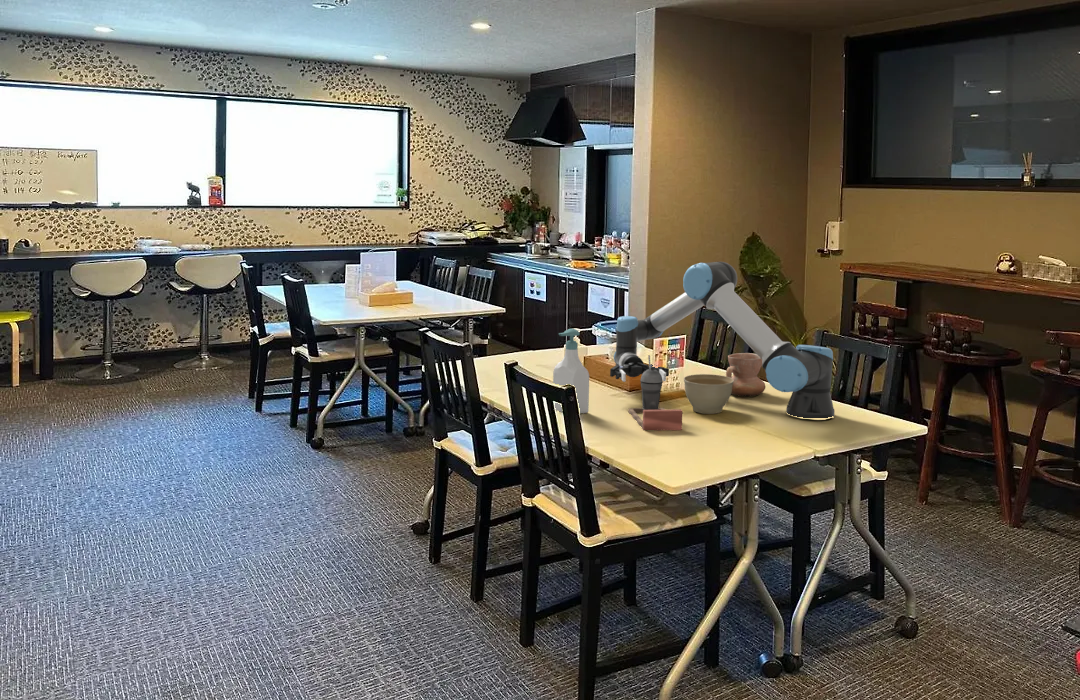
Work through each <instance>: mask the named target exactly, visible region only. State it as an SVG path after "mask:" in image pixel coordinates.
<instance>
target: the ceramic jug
mask: <svg viewBox="0 0 1080 700" xmlns="http://www.w3.org/2000/svg"><path fill="white" fill-rule="evenodd" d="M727 360H728V364H729V366H728V367H727V369H726V370H725V371H726V372H725V376H726V377H729V378H732V379H733V380H734V382H733V385H732V392H731V395H734V396H738V395H739V397H755V395H756V396H759V395H761V394H763V393H764V392H765V390H766V386H767V385H766V383H765V382H764V380H762V379H760V378H759V377H758V374H759V372H760V370H761V368H762V359H761V358H760V357H759V356H758V355H757V354H756V353H752V352H751V353H750V352H741V353H740V352H739V353H732V354H729V355H727Z"/></svg>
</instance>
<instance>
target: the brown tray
mask: <svg viewBox="0 0 1080 700" xmlns="http://www.w3.org/2000/svg"><path fill="white" fill-rule="evenodd" d="M627 410H628V413H629V415H630V414H631V415H632V416H631V415H630V416H631V417H632V418H633V420H634V421H635V420H636V421H637V422H636V421H635V422H636V423H637V425H638V426H639V427H640V426H641V427H642V428H641V427H640V428H641V429H642V431H644V430H654V431H682V430H683V414H684V413H683V410H682V409H675V408H674V409H665V408H664V407H659V409H658V410H643V407H638V408H637V407H635V408H632V407H631V408H628V409H627ZM641 413H642V418H641V417H640V416H639V414H641Z"/></svg>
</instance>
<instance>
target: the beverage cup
mask: <svg viewBox="0 0 1080 700" xmlns="http://www.w3.org/2000/svg"><path fill="white" fill-rule="evenodd" d="M647 357H648V358H647V359H648V365H649V369H648V370H646V371H645V372H644V373H643V374H641V377H640V380H639V382H640V387H641V398H642V399H641V401H642V402H641V403H642V404H641V405H642V408H643V410H658V409H659V408H660V400H661V399H660V398H661V391H662V390H661V389H662V387H663V384H664V381H663V380H662V376H661V374H660V373H659V372H658V371H657V370H655V369H651V356H650V354H649V355H647Z"/></svg>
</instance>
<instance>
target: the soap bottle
mask: <svg viewBox="0 0 1080 700" xmlns="http://www.w3.org/2000/svg"><path fill="white" fill-rule="evenodd" d="M558 335H559V337H569V340H567V341H566V342H565V351H564V352H565V353H564V357H563V358H562V360H561V361H559V362H558V363H557V364H556V365H555V366H554V369H553V371H552V373H553V375H552V384H553V383H555V384H559V385H566V384H571V385H574V386H575V388H576V393H577V399H578V403H579V408H580V413H583V414H588V413H589V407H590V406H589V401H590V373H589V370H588V369H587V368H586V367H585V366H584V365H583V364H582V361H581V359H580V356H579V351H578V349H579V347H578V342H577V341H576V340H574V336H575V337H577V336H580V332H579V330H577V329H575V328H568V329H566V330H564V332H558ZM555 408H556V411H557V412H561V413H563V412H562V407H561V405H560V404H558V403H555ZM587 412H588V413H587Z"/></svg>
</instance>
